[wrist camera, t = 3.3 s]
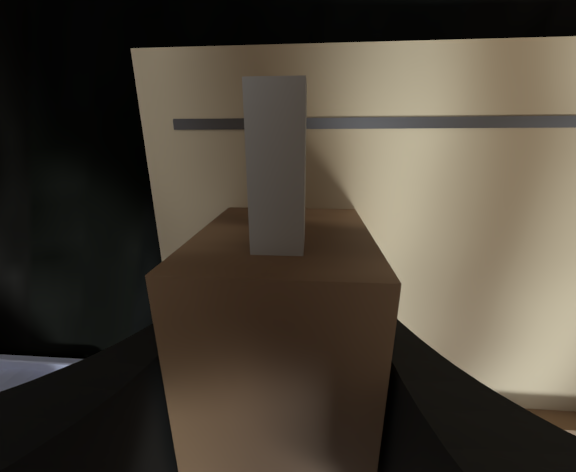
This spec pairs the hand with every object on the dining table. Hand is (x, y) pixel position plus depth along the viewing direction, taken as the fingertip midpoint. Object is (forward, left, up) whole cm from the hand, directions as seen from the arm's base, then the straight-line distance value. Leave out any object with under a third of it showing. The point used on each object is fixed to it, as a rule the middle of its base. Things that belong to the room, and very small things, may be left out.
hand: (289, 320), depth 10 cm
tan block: (0, +2, -1) cm, 2 cm away
